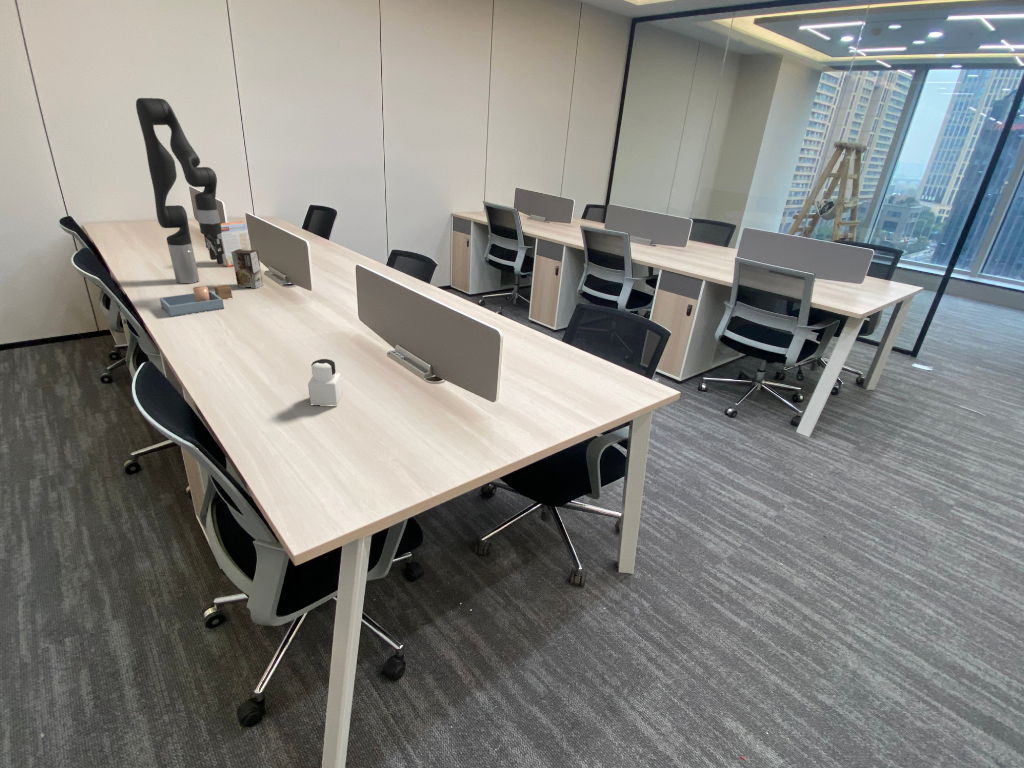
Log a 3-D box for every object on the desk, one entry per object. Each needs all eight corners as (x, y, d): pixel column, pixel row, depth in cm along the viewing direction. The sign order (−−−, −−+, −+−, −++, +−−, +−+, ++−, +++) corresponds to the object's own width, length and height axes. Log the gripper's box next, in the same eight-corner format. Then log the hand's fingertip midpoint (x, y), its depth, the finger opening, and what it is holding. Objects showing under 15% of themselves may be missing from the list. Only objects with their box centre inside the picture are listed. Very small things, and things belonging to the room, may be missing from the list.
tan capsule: (195, 304, 206) (191, 287, 203) (208, 302, 209) (205, 285, 206) (198, 307, 203) (195, 290, 200) (212, 305, 206) (209, 288, 203)
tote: (161, 307, 202) (159, 297, 200) (213, 300, 214) (211, 290, 212) (171, 317, 193) (168, 307, 191) (224, 308, 205) (222, 299, 203)
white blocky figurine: (317, 394, 147) (312, 356, 141) (342, 395, 147) (339, 356, 142) (310, 406, 140) (305, 366, 135) (337, 406, 141) (333, 367, 136)
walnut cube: (216, 297, 217) (213, 286, 215) (228, 295, 221) (226, 284, 218) (219, 300, 214) (217, 288, 212) (232, 298, 218) (230, 287, 215)
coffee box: (263, 285, 237) (258, 250, 230) (256, 288, 231) (250, 253, 224) (245, 283, 238) (239, 248, 231) (236, 287, 232) (230, 251, 225)
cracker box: (247, 261, 274) (241, 221, 265) (253, 263, 271) (247, 222, 262) (221, 265, 264) (213, 223, 254) (227, 267, 260) (219, 225, 251)
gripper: (193, 219, 205) (201, 259, 213) (204, 224, 197) (212, 266, 204) (213, 218, 210) (221, 257, 217) (225, 223, 201) (232, 264, 209)
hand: (217, 261), depth 211 cm, fingers open, 8 cm apart
